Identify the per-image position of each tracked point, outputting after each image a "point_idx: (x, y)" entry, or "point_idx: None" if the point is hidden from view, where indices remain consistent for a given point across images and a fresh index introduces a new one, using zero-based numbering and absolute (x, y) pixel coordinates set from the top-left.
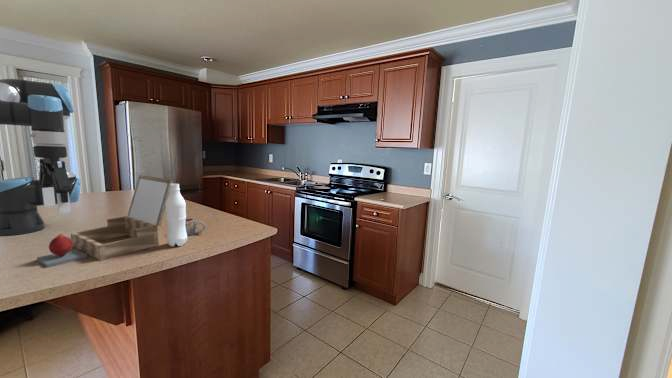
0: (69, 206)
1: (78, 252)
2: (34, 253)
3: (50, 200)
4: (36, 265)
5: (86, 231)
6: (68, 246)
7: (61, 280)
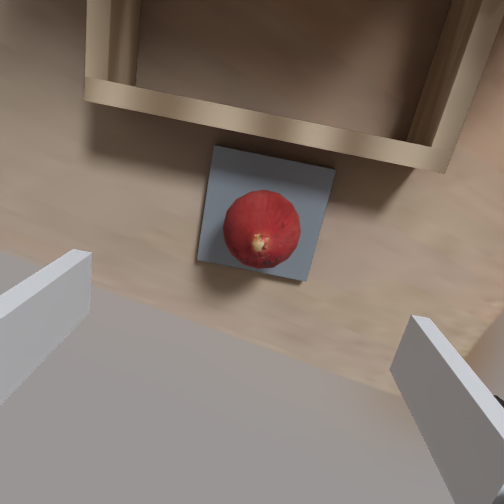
0: (447, 347)
1: (276, 168)
2: (107, 223)
3: (62, 301)
4: (252, 279)
5: (109, 34)
6: (299, 222)
7: (454, 313)
